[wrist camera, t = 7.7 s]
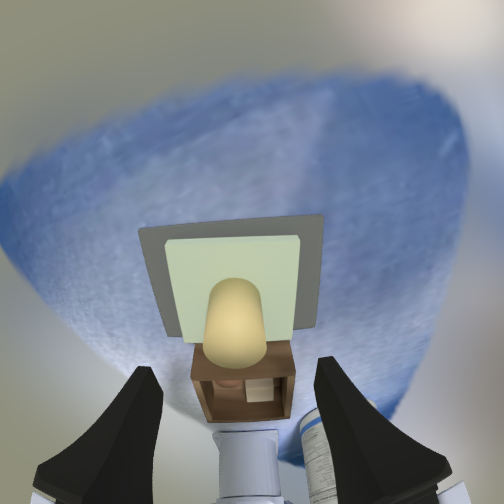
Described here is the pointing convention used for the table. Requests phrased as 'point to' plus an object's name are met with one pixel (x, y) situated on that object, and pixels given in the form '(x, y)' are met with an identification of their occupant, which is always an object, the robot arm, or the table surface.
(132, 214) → the table surface
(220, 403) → the box
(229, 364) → the lid
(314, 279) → the mat
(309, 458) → the supplement tub
